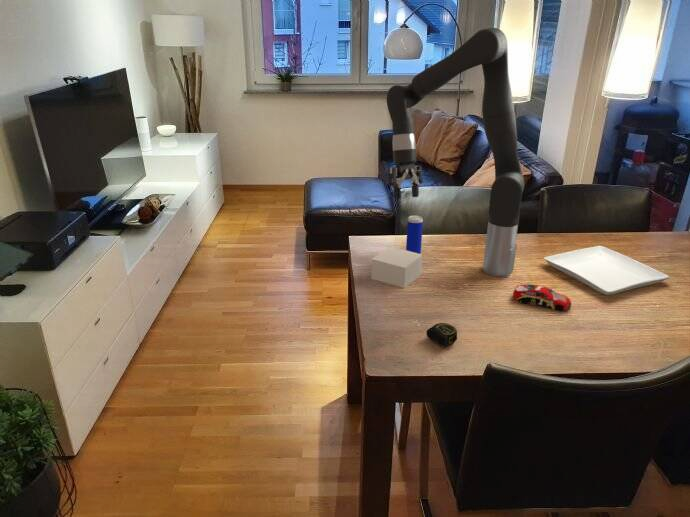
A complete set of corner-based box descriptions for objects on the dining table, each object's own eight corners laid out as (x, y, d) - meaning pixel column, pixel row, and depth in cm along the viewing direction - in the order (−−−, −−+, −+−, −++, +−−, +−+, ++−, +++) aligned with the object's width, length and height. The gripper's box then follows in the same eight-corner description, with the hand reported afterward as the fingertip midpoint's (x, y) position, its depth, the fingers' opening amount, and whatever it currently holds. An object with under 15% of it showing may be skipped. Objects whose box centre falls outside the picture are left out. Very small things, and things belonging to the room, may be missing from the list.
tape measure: (424, 339, 138) (425, 327, 136) (443, 331, 142) (444, 319, 140) (442, 351, 133) (443, 339, 131) (462, 342, 136) (463, 330, 135)
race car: (571, 304, 155) (574, 290, 153) (569, 315, 150) (572, 300, 147) (515, 292, 162) (517, 278, 160) (510, 302, 156) (513, 287, 154)
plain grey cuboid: (421, 273, 173) (422, 254, 170) (404, 288, 164) (405, 267, 161) (389, 265, 179) (390, 246, 176) (371, 278, 170) (371, 259, 167)
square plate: (606, 302, 156) (609, 291, 154) (540, 266, 179) (542, 256, 177) (668, 285, 166) (671, 274, 164) (598, 253, 189) (600, 243, 187)
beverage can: (420, 255, 186) (422, 215, 180) (420, 261, 182) (423, 220, 176) (405, 254, 187) (407, 214, 181) (405, 260, 182) (407, 220, 176)
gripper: (397, 148, 166) (400, 199, 168) (427, 147, 175) (429, 196, 177) (380, 150, 171) (383, 200, 174) (410, 149, 181) (412, 196, 183)
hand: (406, 198), depth 176 cm, fingers open, 8 cm apart
